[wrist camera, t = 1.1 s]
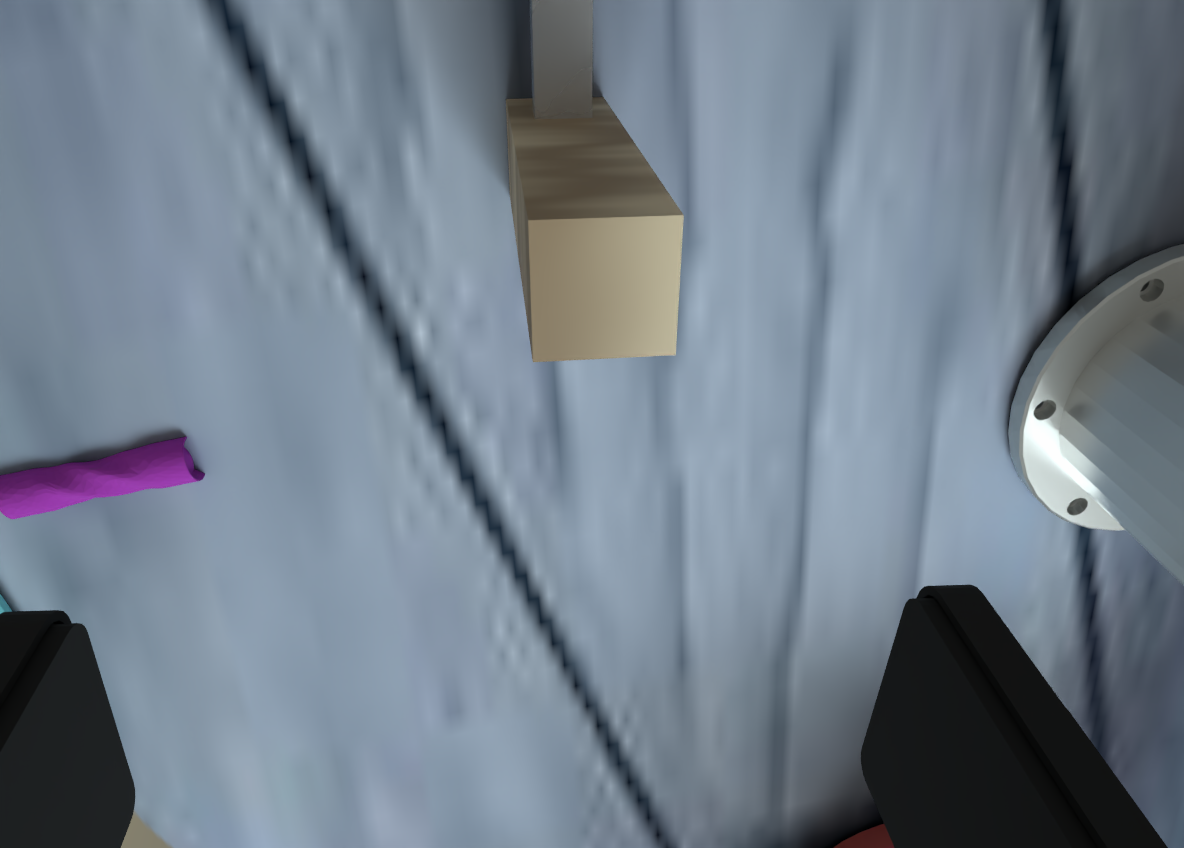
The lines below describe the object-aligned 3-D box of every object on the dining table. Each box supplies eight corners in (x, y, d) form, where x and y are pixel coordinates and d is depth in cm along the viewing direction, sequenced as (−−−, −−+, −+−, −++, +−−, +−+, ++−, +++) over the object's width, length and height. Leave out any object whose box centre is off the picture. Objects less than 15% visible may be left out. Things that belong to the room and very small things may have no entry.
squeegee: (310, 720, 38) (78, 768, 38) (316, 690, 39) (93, 737, 39) (-52, -23, 23) (-429, 53, 23) (-21, -26, 25) (-375, 45, 25)
